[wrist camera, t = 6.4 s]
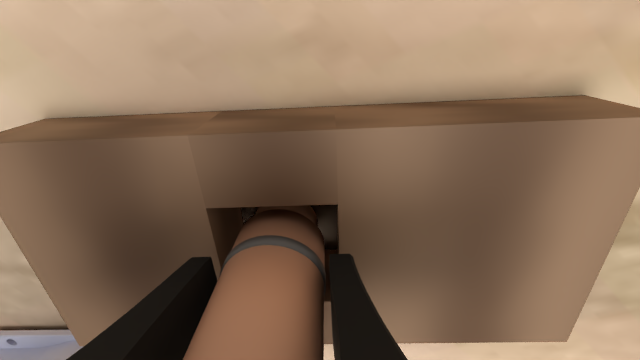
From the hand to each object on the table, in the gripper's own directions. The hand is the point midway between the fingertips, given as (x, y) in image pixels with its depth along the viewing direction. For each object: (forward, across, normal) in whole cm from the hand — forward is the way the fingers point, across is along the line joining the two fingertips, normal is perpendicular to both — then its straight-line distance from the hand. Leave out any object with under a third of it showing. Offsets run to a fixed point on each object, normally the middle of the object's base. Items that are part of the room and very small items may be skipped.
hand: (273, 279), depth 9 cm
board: (+4, -1, 0) cm, 4 cm away
